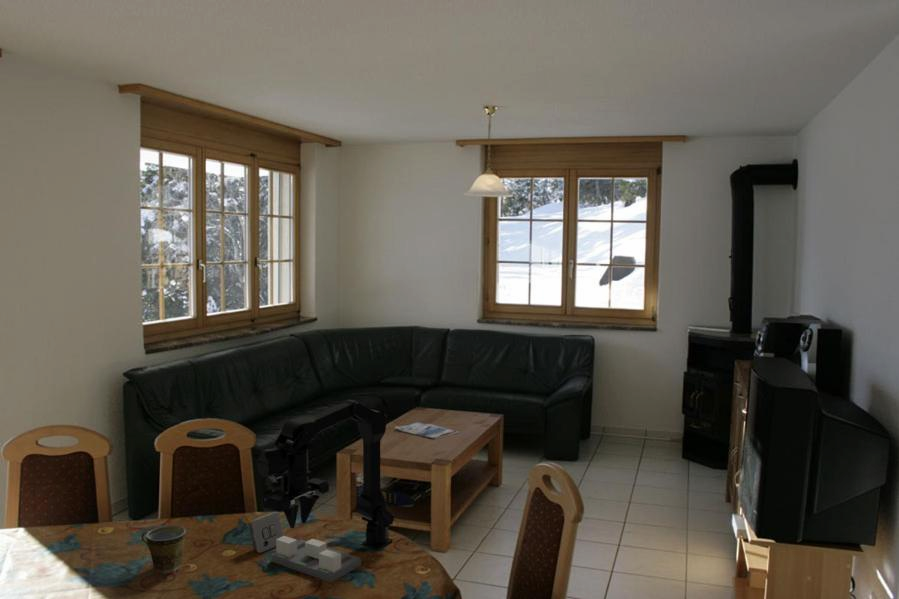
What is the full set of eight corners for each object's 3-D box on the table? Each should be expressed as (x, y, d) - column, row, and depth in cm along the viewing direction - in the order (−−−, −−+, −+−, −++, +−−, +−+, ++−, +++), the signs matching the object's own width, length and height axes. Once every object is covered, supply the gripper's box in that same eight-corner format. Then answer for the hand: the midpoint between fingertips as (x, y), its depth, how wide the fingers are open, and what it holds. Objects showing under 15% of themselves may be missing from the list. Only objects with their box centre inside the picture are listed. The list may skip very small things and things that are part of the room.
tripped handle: (312, 550, 211) (312, 538, 211) (326, 555, 208) (326, 542, 208) (305, 554, 209) (304, 542, 208) (318, 559, 206) (318, 546, 206)
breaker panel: (302, 546, 220) (301, 526, 219) (360, 565, 208) (360, 544, 207) (271, 561, 210) (270, 540, 209) (330, 582, 198) (330, 560, 197)
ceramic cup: (194, 563, 208) (193, 528, 207) (170, 579, 199) (168, 542, 198) (155, 556, 213) (154, 521, 212) (129, 571, 203) (128, 535, 202)
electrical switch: (259, 554, 214) (256, 522, 214) (247, 551, 218) (245, 519, 217) (285, 543, 222) (283, 512, 221) (274, 540, 225) (271, 509, 224)
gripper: (300, 454, 213) (300, 508, 214) (248, 472, 197) (249, 530, 199) (330, 461, 206) (330, 516, 208) (279, 480, 191) (280, 540, 193)
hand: (297, 525), depth 202 cm, fingers open, 4 cm apart
